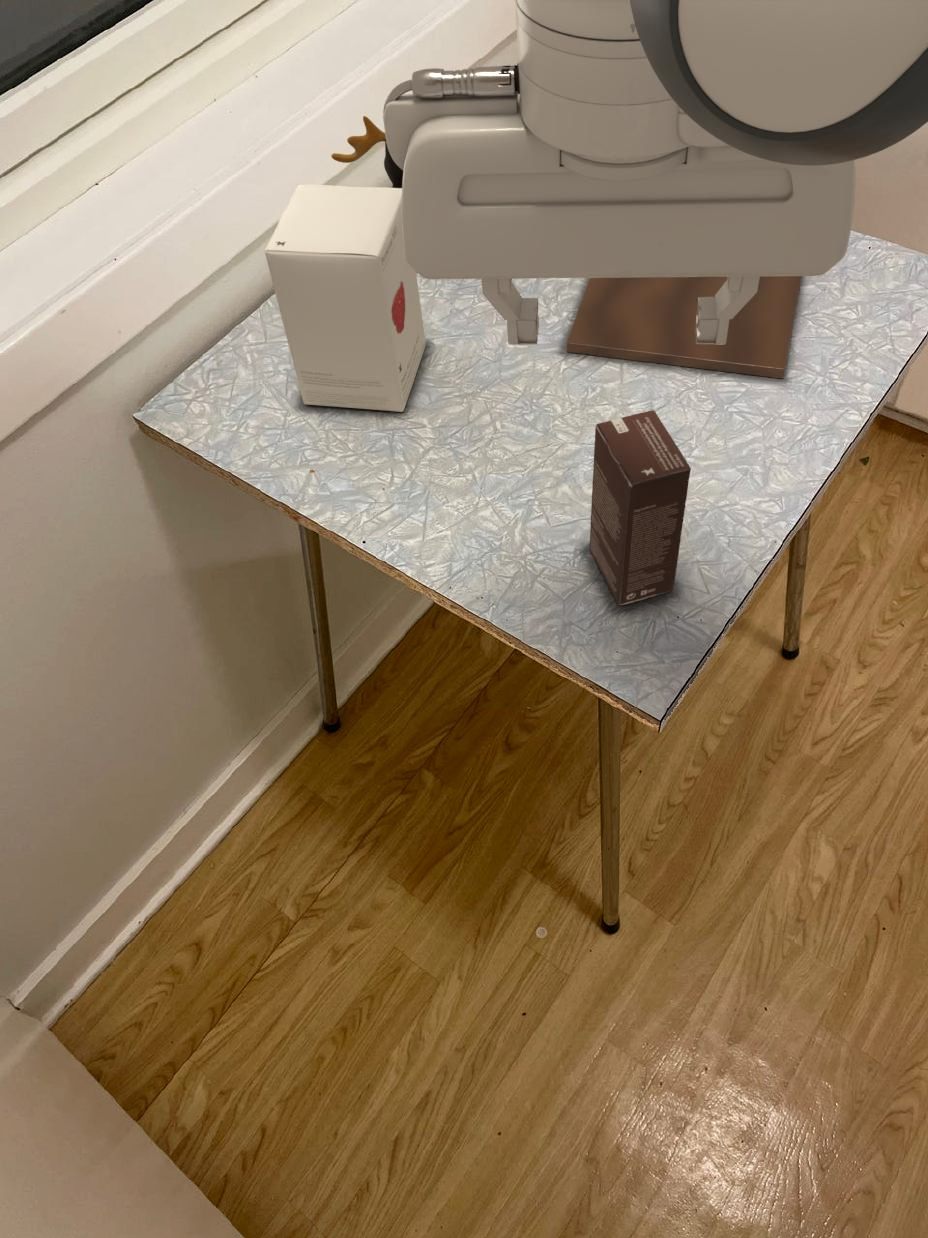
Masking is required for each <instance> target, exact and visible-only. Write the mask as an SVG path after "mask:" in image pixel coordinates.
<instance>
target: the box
mask: <svg viewBox="0 0 928 1238" xmlns="http://www.w3.org/2000/svg"><path fill="white" fill-rule="evenodd" d="M594 429H595V431H594V447H593V448H594V450H593V469H592V470H593V471H592V488H591V489H592V490H591V507H590V508H591V509H590V510H591V511H590V528H589V529H590V532H589V550H590V551H591V554H592V556H593V557H594V560H595V562H596V564H597V566H598V568H599V570H600V572H601V574H602V576H603V578H604V580H605V582H606V583H607V586H608V588H609V589H610V592H611V593H612V595H613V597H614V600H615V601H616V603H617V605H618V606H624V605H631V604H633V603H636V602H637V603H638V602H640V601H645V600H648V599H649V598H653V597H657V596H659V595H662V594H665V593H668V592H670V591H673V590H674V589H675V588H674V586H675V582H676V574H677V566H678V561H679V554H680V546H681V538H682V532H683V526H684V525H683V524H684V517H685V511H686V502H687V497H688V489H689V482H690V476H691V471H692V468H691V466H690V464H689V462H687V460H686V458H685V457H684V455H683V453H682V452H681V450H680V448H679V447H678V445H677V444H676V442H675V441H674V439H673V437H672V436H671V434H670V433H669V431H668V430H667V428H666V426H665V425H664V423H663V421H661V419H660V417H659V416H658V414H657V413H656V411H655V410H654V409H651V410H646V411H643V412H639V413H634V414H630V415H627V416H623V417H619V418H615V419H611V420H608V421H603V422H600V423H596V424H595V428H594Z"/></svg>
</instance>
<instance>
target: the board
mask: <svg viewBox="0 0 928 1238" xmlns="http://www.w3.org/2000/svg"><path fill="white" fill-rule="evenodd" d="M802 277H803V276H760V279H759V285H758V291H757V293H756V294H755V295H754V296H753V297H752V298H751V299H750V300H749V301H748V303H747V304H746V305H745V306H744V307H743V308H742V309H741V310H740V311H739V312H738V313H737V314H736V315H735V316H734V318H733V319H729V326H728V333H727V340H726V344H725V345H718V344H696V334H695V323H696V315H697V304H698V297H715V295H716V294H717V292H718V291H719V290H720V288H721V287H722V286H723V285H724V283H725V282H726V281H727V277H629V278H588V282H587V284H586V287H585V289H584V292H583V296H582V298H581V300H580V304H579V307H578V309H577V312H576V315H575V317H574V320H573V323H572V326H571V329H570V331H569V335H568V337H567V340H566V345H565V347H566V349H565V350H566V352H567V353H573V354H582V355H589V356H597V357H605V358H612V359H619V360H620V359H621V360H630V361H637V362H644V363H645V362H646V363H652V364H661V365H670V366H678V367H685V368H695V369H701V370H710V371H717V372H724V373H725V372H726V373H735V374H742V375H750V376H758V377H767V378H774V379H781V380H783V379H784V378H785V373H786V367H787V361H788V357H789V351H790V345H791V339H792V333H793V328H794V324H795V323H794V322H795V318H796V317H795V316H796V310H797V307H798V301H799V300H798V299H799V293H800V287H801V284H802V283H801V282H802Z"/></svg>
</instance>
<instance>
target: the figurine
mask: <svg viewBox="0 0 928 1238" xmlns="http://www.w3.org/2000/svg"><path fill="white" fill-rule="evenodd" d="M362 121H363V124H364V127H365V131H366V132H365V134H363V135H352V136H349V137H348V138H347V139H346V141H347V144H349V146H351V147H352V148H353V149H354V152H352V153H349V154H343V153H337V152H336V153H332V154H331V155H330V157H331V159H333V160H334V161H337V162H338V163H343V164H344V163H345V164H349V163H353V162H356V161H357V160H359V159H360V158H362V157H363V156H364V155H365V154H367V153H368V152H369V151H370V150H371V149H372V148H373V147H374V146H375V145H377V144H378V143H382V142H384V153H385V154H384V155H385V156H384V160H383V168H384V170H385V173H386V175H387V177H388V179H389V180H390V182H391V183H392V187H391V188H402V183H403V172H404V171H403V170H402V169H401V168H400V167H399V166H398V165H397V164H396V163H395V162H394V160H393V159H392V157H391V155H390V153H389V150H388V147H387V143H386V136H385V131H382V130H381V129H380V128H379V127H377V126H376V124H375V123H374V122H373V121H372V120H371V119H370V118H369V117H367V116H366V115H363V116H362Z"/></svg>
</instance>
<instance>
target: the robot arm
mask: <svg viewBox="0 0 928 1238" xmlns="http://www.w3.org/2000/svg"><path fill="white" fill-rule="evenodd" d="M515 22H516V23H515V24H516V46H517V49H516V50H517V63H516V64H514V65H509V64H508V65H493V66H492V65H491V66H490V65H489V66H477V67H476V66H475V67H474V68H473V67H469V68H465V69H461V70H460V69H456V70H445V69H444V68H437V67H436V68H435V67H434V68H433V67H431V68H424V69H419V70H416V71H413V72H412V74H411V79H408V80H405V81H403V82H401V83H399V84H397V85H396V86H395V87H394V88H392V89H391V91H390V92H389V93H388V95H387V96H386V98H385V100H384V103H383V108H382V122H383V129H384V133H385V136H386V143H387V147H388V150H389V153H390V155H391V157H392V159H393V160H394V162H395V163H396V164H397V165H398V166H399V167H400V168H401V169H402V170H403V171H404V172H403V183H402V236H403V247H404V256H405V260H406V262H407V263H408V264H409V265H410V266H411V267H412V268H413V269H414V270H415V271H416V274H418V275H419V276H420V277H421V278H423V279H426V280H481V290H482V295H483V296H484V297H485V298H486V300H487V301H488V302H489V303H490V304H491V306H492V307H493V308H494V309H495V311H496V312H497V313H498V314H499V315H500V317H501V318H502V319H503V320H504V321H506V327H507V328H506V329H507V341H508V345H511V346H512V345H513V346H514V345H515V346H516V345H517V346H528V345H529V346H532V345H533V346H534V345H535V346H536V345H538V340H539V339H538V335H539V328H540V327H539V325H540V324H539V323H540V322H539V319H540V318H539V298H538V297H523V296H522V294H521V293H520V292H519V291H518V289H517V288H516V287H515V285H514V283H513V282H512V281H513V280H512V279H514V280H515V279H520V280H521V279H590V278H629V277H727V281H726V282H725V283H724V285H723V286H722V287H721V288H720V290H719V291H718V292H717V294H716V295H715V297H698V304H697V315H696V323H695V334H696V344H718V345H725V344H726V340H727V333H728V326H729V319H733V318H734V316H735V315H736V314H737V313H738V312H739V311H740V310H741V309H742V308H743V307H744V306H745V305H746V304H747V303H748V301H749V300H750V299H751V298H752V297H753V296H754V295H755V294H756V293H757V291H758V285H759V279H760V276H802V277H819V276H823V275H825V274H826V273H828V272H829V271H830V270H831V269H833V268H834V267H835V266H836V265H837V264H838V263H840V261H842V260H843V259H844V257H846V253H847V251H848V247H849V242H850V237H851V232H852V226H853V225H852V224H853V218H854V211H855V203H856V202H855V200H856V187H857V186H856V183H857V181H856V180H857V179H856V178H857V175H856V174H857V169H856V167H857V166H856V160H860V159H862V158H866V157H868V156H872V155H874V154H877V153H879V152H882V151H884V150H886V149H888V148H890V147H893V146H894V145H896V144H898V143H900V142H901V141H903V140H905V139H906V138H908V137H909V136H911V135H912V134H914V133H915V132H917V131H918V130H920V129H921V128H922V127H923V126H925V125H926V124H927V123H928V0H515ZM411 91H412V93H408V92H411Z"/></svg>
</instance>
